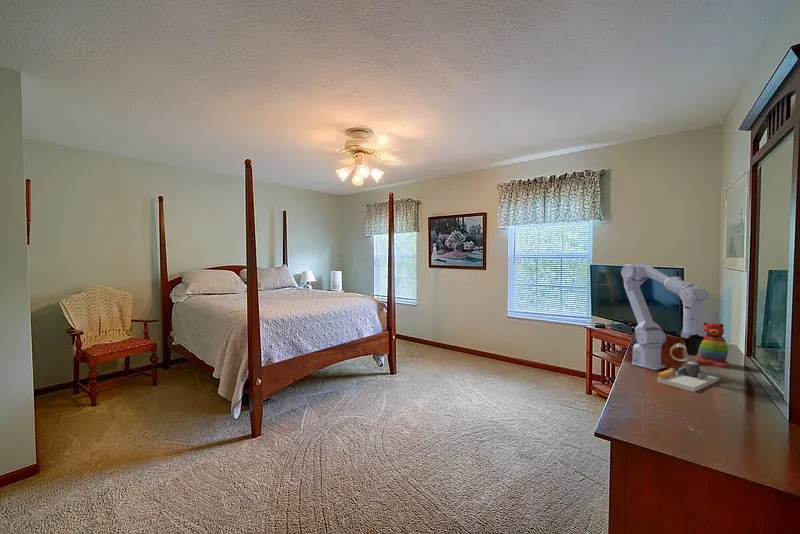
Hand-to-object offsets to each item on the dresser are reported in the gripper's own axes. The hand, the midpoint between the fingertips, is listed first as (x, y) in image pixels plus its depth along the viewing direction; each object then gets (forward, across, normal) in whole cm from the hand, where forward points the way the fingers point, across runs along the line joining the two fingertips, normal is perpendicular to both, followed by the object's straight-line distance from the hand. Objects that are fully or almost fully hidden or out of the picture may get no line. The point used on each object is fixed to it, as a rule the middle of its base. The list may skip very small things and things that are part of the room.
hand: (692, 354), depth 131 cm
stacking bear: (+10, +33, +4) cm, 35 cm away
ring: (+10, +25, +13) cm, 30 cm away
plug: (+8, 0, 0) cm, 8 cm away
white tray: (+9, -3, 0) cm, 10 cm away
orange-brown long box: (+7, -9, +4) cm, 12 cm away
